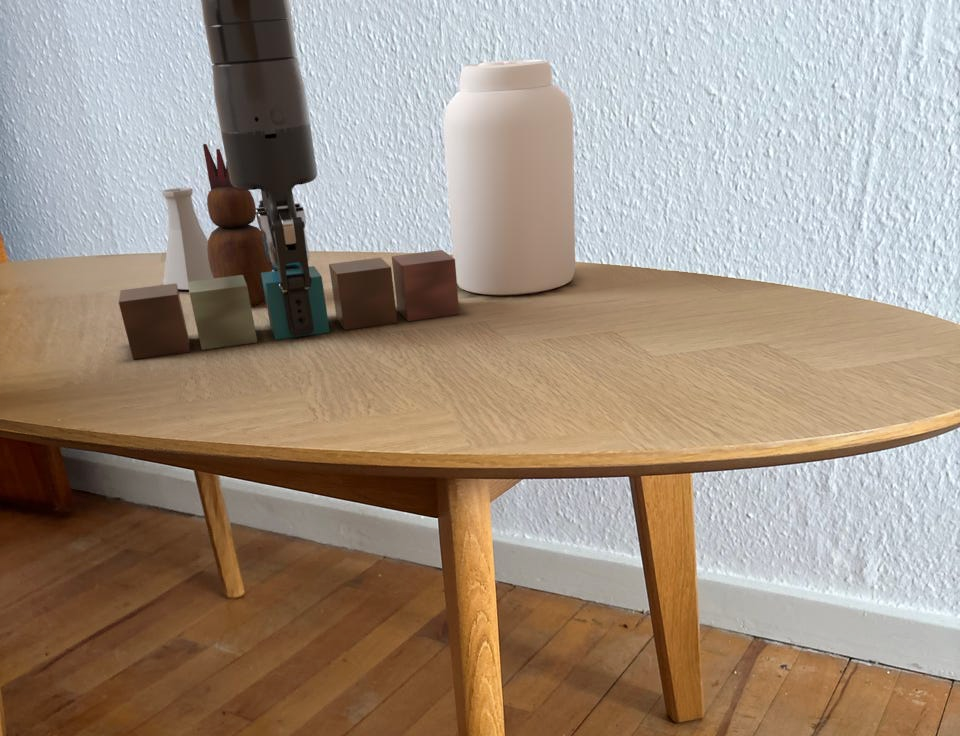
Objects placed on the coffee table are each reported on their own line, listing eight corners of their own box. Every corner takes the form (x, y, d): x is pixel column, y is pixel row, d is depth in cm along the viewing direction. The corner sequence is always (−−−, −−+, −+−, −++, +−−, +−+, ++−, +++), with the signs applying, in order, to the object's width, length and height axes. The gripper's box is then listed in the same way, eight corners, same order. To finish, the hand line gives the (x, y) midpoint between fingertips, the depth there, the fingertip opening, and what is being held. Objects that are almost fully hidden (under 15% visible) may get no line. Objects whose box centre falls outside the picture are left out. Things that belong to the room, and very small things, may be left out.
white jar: (453, 301, 98) (435, 68, 88) (457, 273, 109) (441, 63, 98) (580, 292, 98) (577, 58, 87) (571, 266, 108) (567, 54, 98)
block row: (133, 359, 88) (118, 301, 85) (134, 345, 92) (120, 290, 89) (459, 314, 94) (455, 258, 91) (446, 303, 98) (442, 249, 95)
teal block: (275, 340, 90) (265, 283, 88) (270, 327, 95) (260, 272, 92) (329, 332, 91) (321, 276, 89) (322, 320, 96) (314, 265, 93)
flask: (186, 294, 109) (165, 196, 104) (152, 287, 114) (129, 193, 108) (241, 280, 114) (223, 185, 108) (205, 274, 118) (186, 183, 113)
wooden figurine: (208, 304, 104) (176, 146, 97) (256, 293, 108) (228, 139, 100) (241, 313, 100) (210, 148, 92) (290, 301, 103) (263, 140, 95)
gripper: (216, 122, 89) (252, 315, 98) (224, 133, 77) (265, 352, 86) (299, 113, 90) (327, 304, 99) (320, 124, 79) (350, 339, 88)
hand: (298, 325), depth 93 cm, fingers closed on teal block, 5 cm apart
